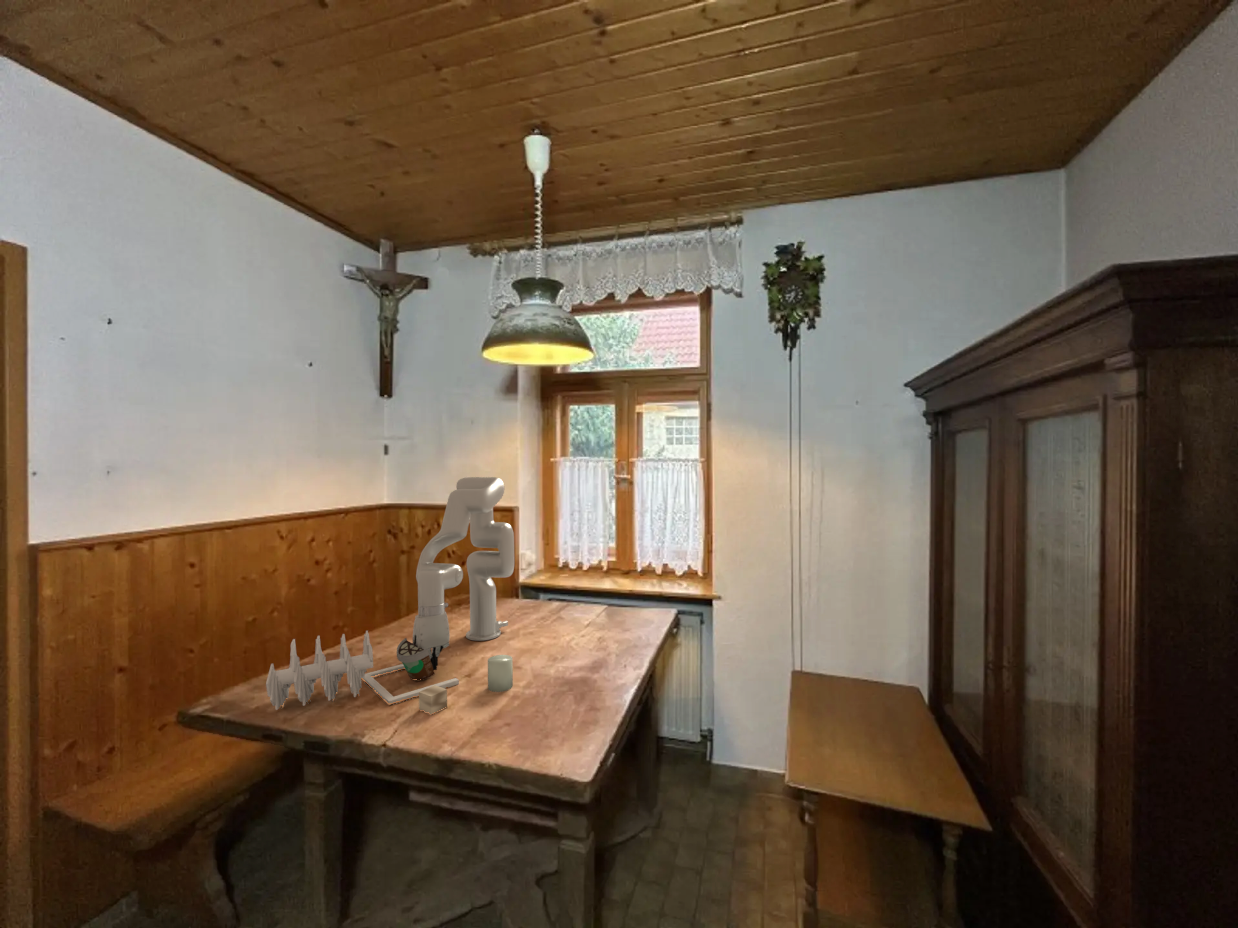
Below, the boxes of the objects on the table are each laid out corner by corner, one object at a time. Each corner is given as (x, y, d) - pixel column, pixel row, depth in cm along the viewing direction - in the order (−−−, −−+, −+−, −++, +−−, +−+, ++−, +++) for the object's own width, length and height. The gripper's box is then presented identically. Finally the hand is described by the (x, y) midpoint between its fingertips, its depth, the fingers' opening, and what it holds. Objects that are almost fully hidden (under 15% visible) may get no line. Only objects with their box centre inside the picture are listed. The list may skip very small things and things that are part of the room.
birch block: (434, 703, 144) (434, 684, 144) (447, 707, 141) (446, 689, 141) (419, 710, 140) (418, 691, 140) (431, 715, 137) (431, 696, 137)
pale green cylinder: (504, 679, 159) (504, 652, 159) (517, 686, 154) (516, 659, 154) (483, 686, 154) (483, 659, 154) (495, 694, 149) (495, 665, 149)
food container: (397, 675, 162) (386, 649, 159) (415, 662, 167) (404, 637, 163) (420, 689, 155) (409, 662, 151) (437, 675, 159) (427, 648, 156)
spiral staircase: (276, 716, 145) (376, 694, 155) (261, 715, 131) (372, 691, 141) (277, 647, 152) (372, 631, 162) (262, 638, 137) (369, 621, 147)
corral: (425, 661, 174) (425, 657, 174) (458, 683, 156) (458, 679, 156) (360, 678, 160) (360, 674, 160) (388, 705, 142) (388, 701, 142)
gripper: (449, 602, 170) (449, 659, 170) (402, 612, 160) (402, 672, 160) (459, 607, 165) (460, 666, 165) (412, 617, 154) (412, 680, 155)
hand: (432, 669), depth 162 cm, fingers closed
